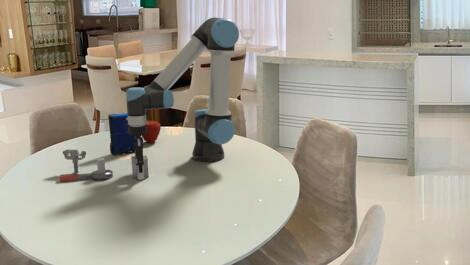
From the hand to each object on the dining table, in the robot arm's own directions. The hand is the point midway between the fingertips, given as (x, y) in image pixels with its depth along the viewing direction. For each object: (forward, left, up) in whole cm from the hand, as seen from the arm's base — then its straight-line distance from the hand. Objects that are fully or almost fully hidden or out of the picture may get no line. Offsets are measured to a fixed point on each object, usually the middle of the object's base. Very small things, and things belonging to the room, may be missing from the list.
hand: (140, 175), depth 240 cm
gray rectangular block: (0, 0, 0) cm, 0 cm away
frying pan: (+22, -3, 0) cm, 22 cm away
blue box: (+5, -39, 0) cm, 39 cm away
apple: (-9, -55, 0) cm, 56 cm away
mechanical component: (+27, -13, 0) cm, 30 cm away
